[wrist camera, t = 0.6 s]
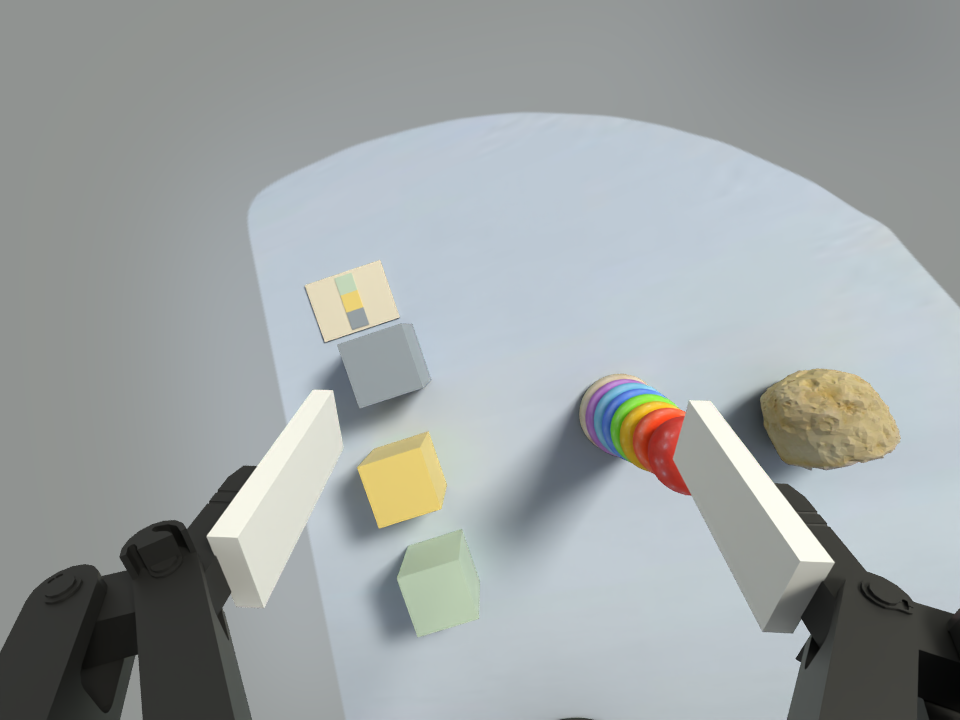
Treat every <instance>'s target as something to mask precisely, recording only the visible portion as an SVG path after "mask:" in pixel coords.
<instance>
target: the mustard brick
mask: <svg viewBox="0 0 960 720" xmlns="http://www.w3.org/2000/svg"><path fill="white" fill-rule="evenodd" d="M357 469H358V471H359V474H360V477H361V480H362V483H363V485H364V488H365V491H366V494H367V497H368V499H369V502H370V505H371V508H372V511H373V513H374V516H375V519H376V522H377V525H378V527H379V528H383V527H386V526H389V525H392V524H395V523H398V522H402V521H405V520H408V519H411V518H414V517H417V516H421V515H424V514H427V513H430V512H433V511H436V510H440V509H441V508H442V504H443V500H444V495H445V491H446V487H447V484H446V481H445V478H444V475H443V472H442V469H441V466H440V464H439V461H438V458H437V455H436V452H435V449H434V446H433V443H432V440H431V437H430V434H429V431H428V432H425V433H422V434H419V435H415V436H412V437H409V438H406V439H403V440H400V441H397V442H394V443H391V444H388V445H384V446H381V447H378V448H375V449H373V450H372V451H371V453H370V454H369V455H368V456H367V457H366V458H365V459H364V460H363V461H362V463H361V464H360V465H359V466H358V467H357Z"/></svg>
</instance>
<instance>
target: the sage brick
mask: <svg viewBox="0 0 960 720" xmlns="http://www.w3.org/2000/svg"><path fill="white" fill-rule="evenodd" d="M397 581H398V584H399V586H400V589H401V592H402V595H403V598H404V600H405V603H406V606H407V609H408V612H409V614H410V617H411V620H412V623H413V626H414V628H415V631H416V634H417V637H421V636H424V635H427V634H431V633H434V632H437V631H441V630H444V629H447V628H450V627H454V626H457V625H460V624H464V623H467V622H470V621H473V620H477V619H479V593H480V580H479V578H478V575H477V572H476V569H475V566H474V563H473V560H472V557H471V554H470V551H469V548H468V545H467V542H466V540H465V537H464V534H463V531H462V529H461V530H458V531H454V532H451V533H448V534H445V535H442V536H438V537H435V538H432V539H429V540H426V541H422V542H419V543H416V544H413V545H410V546H408V548H407V551H406V553H405V556H404V559H403V562H402V565H401V568H400V571H399V574H398V577H397Z"/></svg>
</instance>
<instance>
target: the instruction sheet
mask: <svg viewBox="0 0 960 720" xmlns="http://www.w3.org/2000/svg"><path fill="white" fill-rule="evenodd" d="M305 287H306V290H307V293H308V296H309V299H310V302H311V304H312V307H313V310H314V313H315V316H316V318H317V321H318V324H319V327H320V330H321V333H322V335H323V338H324V341H325V342H327V341H330V340H333V339H336V338H339V337H342V336H346V335H349V334H352V333H355V332H358V331H361V330H364V329H367V328H370V327H373V326H376V325H379V324H382V323H385V322H388V321H391V320H394V319H397V318H400V317H399V314H398V311H397V308H396V305H395V302H394V299H393V296H392V293H391V290H390V287H389V284H388V281H387V278H386V275H385V273H384V270H383V267H382V264H381V261H380V260H378V261H375V262H372V263H370V264H367V265H364V266H361V267H358V268H355V269H352V270H349V271H346V272H343V273H340V274H337V275H334V276H331V277H328V278H325V279H322V280H319V281H316V282H313V283H310V284H307V285H305Z"/></svg>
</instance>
